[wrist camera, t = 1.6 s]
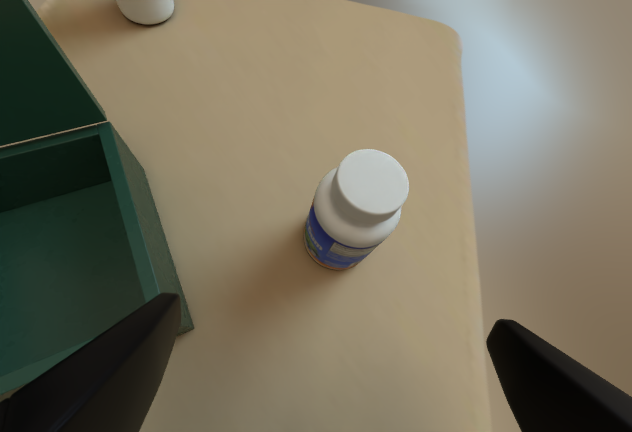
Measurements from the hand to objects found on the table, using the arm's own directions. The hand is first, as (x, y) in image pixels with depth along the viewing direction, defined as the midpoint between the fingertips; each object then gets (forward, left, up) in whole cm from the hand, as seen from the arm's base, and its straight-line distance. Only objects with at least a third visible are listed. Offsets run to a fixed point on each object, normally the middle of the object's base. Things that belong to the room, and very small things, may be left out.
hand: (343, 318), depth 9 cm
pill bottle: (+5, -6, -15) cm, 16 cm away
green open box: (+11, +12, -14) cm, 22 cm away
